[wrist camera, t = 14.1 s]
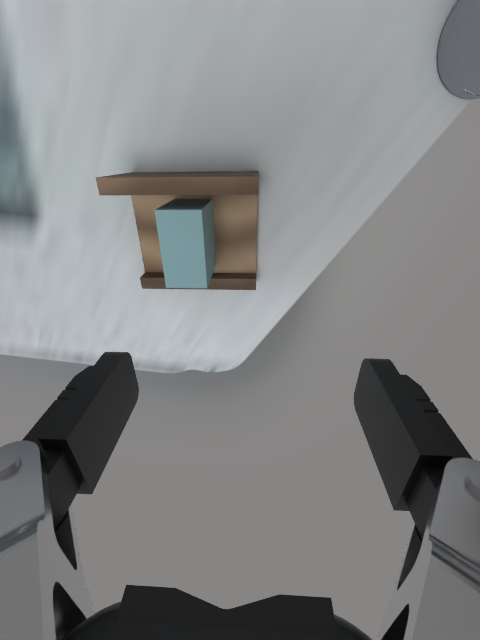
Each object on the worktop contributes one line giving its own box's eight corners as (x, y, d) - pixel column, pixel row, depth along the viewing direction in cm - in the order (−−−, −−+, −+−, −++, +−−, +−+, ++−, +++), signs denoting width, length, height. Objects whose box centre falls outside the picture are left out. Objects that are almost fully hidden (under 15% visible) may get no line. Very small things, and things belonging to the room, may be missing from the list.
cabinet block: (175, 198, 34) (154, 209, 27) (212, 198, 34) (201, 209, 27) (182, 263, 38) (165, 287, 31) (216, 263, 38) (207, 288, 31)
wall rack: (132, 172, 34) (95, 177, 27) (258, 171, 34) (258, 176, 26) (150, 278, 41) (125, 307, 33) (255, 279, 40) (255, 309, 33)
